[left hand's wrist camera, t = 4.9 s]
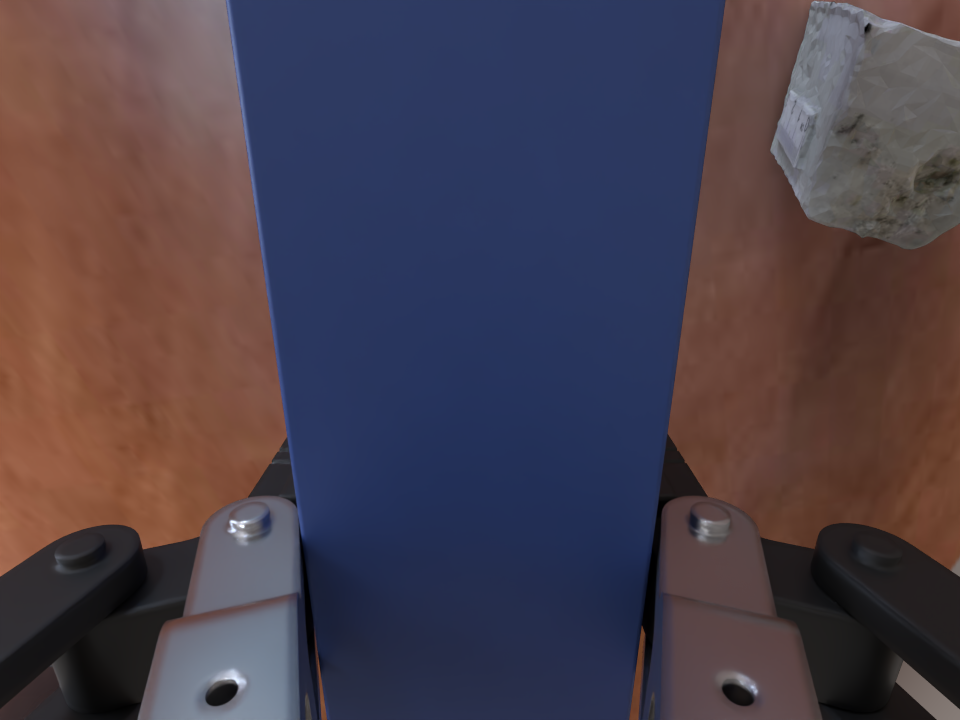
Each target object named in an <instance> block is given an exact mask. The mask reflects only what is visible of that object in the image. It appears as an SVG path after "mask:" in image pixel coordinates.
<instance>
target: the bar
mask: <svg viewBox="0 0 960 720" xmlns="http://www.w3.org/2000/svg"><path fill="white" fill-rule="evenodd" d="M226 5H227V12H228V20H229V27H230V34H231V41H232V48H233V55H234V62H235V69H236V76H237V83H238V90H239V98H240V105H241V112H242V119H243V126H244V133H245V140H246V147H247V154H248V161H249V168H250V176H251V183H252V190H253V197H254V204H255V211H256V218H257V225H258V232H259V239H260V246H261V253H262V261H263V268H264V275H265V282H266V289H267V296H268V303H269V310H270V317H271V324H272V331H273V339H274V346H275V353H276V360H277V367H278V374H279V381H280V388H281V395H282V402H283V409H284V417H285V424H286V431H287V438H288V445H289V452H290V459H291V466H292V473H293V480H294V487H295V494H296V502H297V509H298V516H299V523H300V530H301V537H302V544H303V551H304V558H305V565H306V572H307V580H308V587H309V594H310V601H311V608H312V615H313V622H314V629H315V636H316V643H317V650H318V658H319V665H320V672H321V679H322V686H323V693H324V700H325V707H326V714H327V720H629V716H630V709H631V702H632V694H633V687H634V679H635V672H636V664H637V657H638V649H639V642H640V634H641V627H642V619H643V612H644V604H645V597H646V590H647V582H648V575H649V567H650V560H651V552H652V545H653V537H654V530H655V522H656V515H657V507H658V500H659V492H660V485H661V477H662V470H663V463H664V455H665V448H666V440H667V433H668V425H669V418H670V410H671V403H672V395H673V388H674V380H675V373H676V365H677V358H678V351H679V343H680V336H681V328H682V321H683V313H684V306H685V298H686V291H687V283H688V276H689V268H690V261H691V253H692V246H693V238H694V231H695V224H696V216H697V209H698V201H699V194H700V186H701V179H702V171H703V164H704V156H705V149H706V141H707V134H708V126H709V119H710V112H711V104H712V97H713V89H714V82H715V74H716V67H717V59H718V52H719V44H720V37H721V29H722V22H723V14H724V7H725V0H226Z"/></svg>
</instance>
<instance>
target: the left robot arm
mask: <svg viewBox="0 0 960 720" xmlns="http://www.w3.org/2000/svg"><path fill="white" fill-rule="evenodd" d="M642 626H643V629H644V632H645V637H644V644H643V657H642V672H641V688H640V704H639V720H936V719H935V718H934V717H933V716H932V715H931V714H930V713H929V712H928V711H926V710H925V709H924V708H923V707H922V706H921V705H920V704H919V703H918V702H917V701H916V700H915V699H913V698H912V697H911V696H910V695H909V694H908V693H907V692H906V691H905V690H904V689H902V688H901V687H900V686H899V685H898V684H897V683H896V679H897V676H898V674H899V671H900V668H901V665H902V663H903V660H904V661H905V662H906V663H907V664H909V665H910V666H911V667H912V668H913V669H914V670H915V671H917V672H918V673H919V674H920V675H921V676H922V677H923V678H925V679H926V680H927V681H928V682H929V683H930V684H931V685H933V686H934V687H935V688H936V689H937V690H938V691H939V692H941V693H942V694H943V695H944V696H945V697H946V698H948V699H949V700H950V701H951V702H952V703H953V704H954V705H956V706H957V707H958V708H959V709H960V577H959V576H958V575H956V574H955V573H953V572H952V571H950V570H949V569H947V568H946V567H944V566H943V565H941V564H940V563H938V562H937V561H935V560H934V559H932V558H931V557H929V556H928V555H926V554H925V553H923V552H922V551H920V550H919V549H917V548H916V547H914V546H913V545H911V544H909V543H908V542H906V541H904V540H903V539H901V538H899V537H897V536H895V535H892V534H890V533H888V532H885V531H882V530H879V529H876V528H873V527H869V526H865V525H859V524H851V523H839V524H832V525H829V526H827V527H825V528H823V529H822V530H821V531H820V533H819V535H818V539H817V542H816V546H815V549H811V548H806V547H801V546H796V545H792V544H787V543H782V542H777V541H772V540H768V539H764V538H761V537H760V534H759V530H758V527H757V525H756V524H755V522H754V521H753V520H752V519H751V518H750V516H748V515H747V514H746V513H745V512H743V511H742V510H740V509H739V508H737V507H735V506H733V505H731V504H729V503H727V502H724V501H721V500H718V499H715V498H710V497H708V496H707V495H706V493H705V491H704V490H703V488H702V487H701V485H700V484H699V482H698V480H697V479H696V477H695V476H694V474H693V473H692V471H691V470H690V468H689V466H688V465H687V463H685V462H684V459H683V457H682V456H681V454H680V452H679V451H677V448H676V446H675V445H674V443H673V441H672V440H671V438H670V437H669V435H668V434H667V440H666V448H665V455H664V463H663V470H662V477H661V485H660V492H659V500H658V507H657V515H656V522H655V530H654V537H653V545H652V552H651V560H650V567H649V575H648V582H647V590H646V597H645V604H644V612H643V619H642ZM0 720H321V704H320V688H319V672H318V657H317V644H316V637H315V630H314V622H313V615H312V608H311V601H310V594H309V587H308V580H307V572H306V565H305V558H304V551H303V544H302V537H301V530H300V523H299V516H298V509H297V502H296V494H295V487H294V480H293V473H292V466H291V459H290V452H289V445H288V438H286V440H285V441H284V443H283V444H282V446H281V448H280V451H279V452H277V454H276V455H275V457H274V458H273V460H272V464H269V466H268V467H267V469H266V471H265V472H264V474H263V475H262V477H261V478H260V480H259V481H258V483H257V484H256V486H255V487H254V489H253V491H252V492H251V494H250V495H249V497H248V498H245V499H242V500H239V501H236V502H233V503H231V504H229V505H227V506H225V507H223V508H221V509H220V510H218V511H217V512H215V513H214V514H213V515H212V516H210V518H209V519H208V520H207V521H206V522H205V524H204V525H203V527H202V530H201V534H200V537H197V538H194V539H190V540H186V541H182V542H178V543H173V544H168V545H163V546H158V547H153V548H148V549H143V548H142V545H141V541H140V537H139V535H138V533H137V532H136V531H135V530H134V529H132V528H130V527H127V526H123V525H102V526H96V527H91V528H87V529H83V530H80V531H77V532H74V533H71V534H69V535H67V536H64V537H62V538H60V539H58V540H56V541H54V542H53V543H51V544H49V545H48V546H46V547H44V548H43V549H41V550H40V551H38V552H37V553H35V554H34V555H32V556H31V557H29V558H28V559H26V560H25V561H23V562H22V563H20V564H19V565H17V566H16V567H14V568H13V569H11V570H10V571H8V572H7V573H5V574H4V575H2V576H1V577H0Z"/></svg>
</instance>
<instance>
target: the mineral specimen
mask: <svg viewBox="0 0 960 720" xmlns="http://www.w3.org/2000/svg"><path fill="white" fill-rule="evenodd" d="M777 124H778V127H777V130H776V133H775V137H774V140H773V143H772V146H771V150H770V151H771V154H773V155H774V156H775V160H777V163H778V164H779V165H780V166H781V167H782V169H783V171H784V173H785V175H786V177H787V178H788V181H789V183H790V185H792V188H793V190H794V192H795V196H796V197H797V198H798V200H799V202H800V204H801V207H802V209H803V210H804V212H805V214H806V215H807V217H808V219H810V220H812V221H815V222H817V223H820V224H823V225H826V226H828V227H835V228H843V229H846V230H848V231H851V232H854V233H856V234H858V235H859V236H860V237H862V238H864V237H866V236H869V237H874V238H878V239H881V240H884V241H886V242H889V243H892V244H895V245H898V246H899V247H901V248H903V249H909V250H911V249H916V248H919V247H922V246H925V245H926V244H928V243H930V242H932V241H933V240H934V239H936V238H937V237H938V236H940V235H941V234H943V233H944V232H946V231H948V230H950V229H951V228H953V227H955V226H957V225H958V224H959V223H960V41H954V40H949V39H946V38H942V37H940V36H937V35H934V34H930V33H926V32H923V31H920V30H918V29H915V28H913V27H910V26H907V25H905V24H902V23H899V22H894V21H890V20H885V19H882V18H880V17H878V16H876V15H874V14H872V13H870V12H868V11H865V10H863V9H860V8H858V7H855V6H853V5H850V4H848V3H838V4H837V3H835V2H823V1H820V2H819V1H814V2H812V4H811V7H810V10H809V18H808V22H807V26H806V30H805V35H804V39H803V42H802V44H801V47H800V50H799V52H798V55H797V60H796V63H795V66H794V69H793V72H792V75H791V82H790V85H789V87H788V92H787V95H786V97H785V102H784V108H783V113H782V116H781V118H780V120H779V122H778V123H777Z"/></svg>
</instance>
